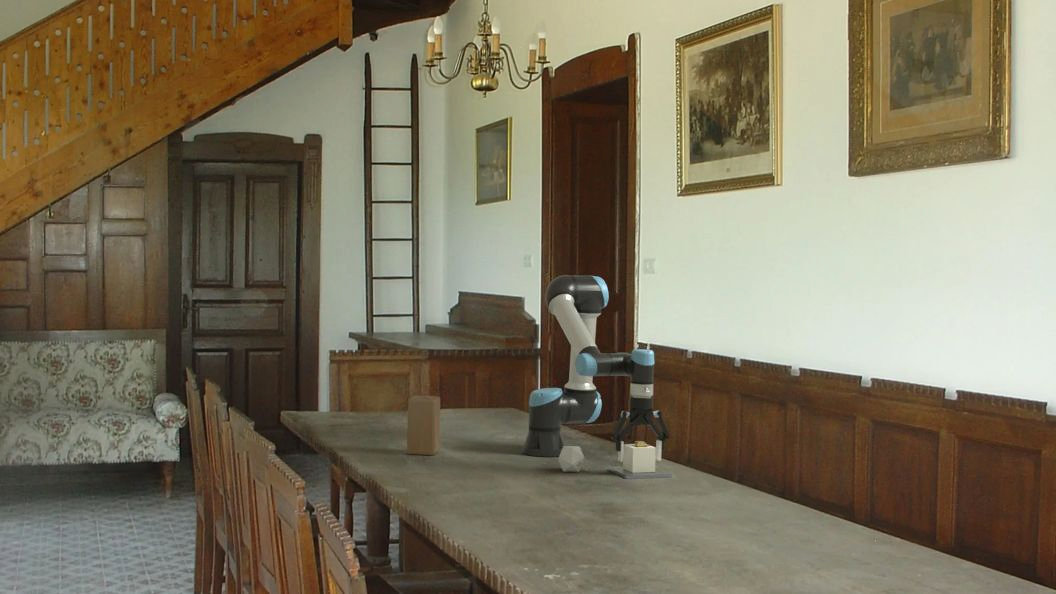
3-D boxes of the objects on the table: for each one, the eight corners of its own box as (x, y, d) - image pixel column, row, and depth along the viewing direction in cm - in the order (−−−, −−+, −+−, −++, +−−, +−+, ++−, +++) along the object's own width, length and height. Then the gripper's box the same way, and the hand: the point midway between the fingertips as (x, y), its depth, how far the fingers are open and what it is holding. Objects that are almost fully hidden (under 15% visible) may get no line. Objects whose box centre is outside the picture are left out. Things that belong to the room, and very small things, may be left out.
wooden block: (439, 451, 395) (440, 396, 395) (434, 456, 385) (435, 399, 385) (411, 450, 396) (413, 394, 396) (406, 454, 386) (407, 397, 386)
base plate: (626, 478, 353) (627, 446, 353) (607, 469, 368) (608, 438, 368) (671, 477, 358) (672, 445, 358) (651, 468, 373) (652, 437, 373)
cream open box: (632, 472, 358) (633, 447, 358) (623, 468, 366) (623, 443, 365) (655, 471, 361) (655, 446, 360) (645, 467, 368) (645, 442, 368)
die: (575, 476, 358) (591, 451, 361) (552, 461, 359) (568, 436, 362) (573, 481, 366) (589, 456, 369) (551, 466, 367) (567, 441, 370)
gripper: (610, 398, 355) (608, 463, 356) (680, 397, 363) (678, 461, 363) (602, 395, 362) (600, 459, 363) (671, 394, 370) (669, 457, 370)
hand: (639, 460), depth 363 cm, fingers open, 13 cm apart
